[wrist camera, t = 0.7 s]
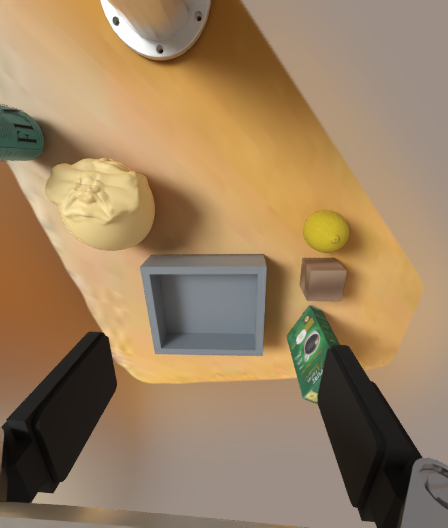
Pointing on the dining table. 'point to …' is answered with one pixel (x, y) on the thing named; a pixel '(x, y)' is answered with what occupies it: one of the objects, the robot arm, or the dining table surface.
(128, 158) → the dining table surface
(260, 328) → the tote
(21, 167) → the dining table surface
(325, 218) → the lemon
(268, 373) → the dining table surface
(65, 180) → the sculpture
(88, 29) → the dining table surface
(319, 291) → the walnut cube
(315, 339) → the coffee box
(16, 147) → the beverage bottle
